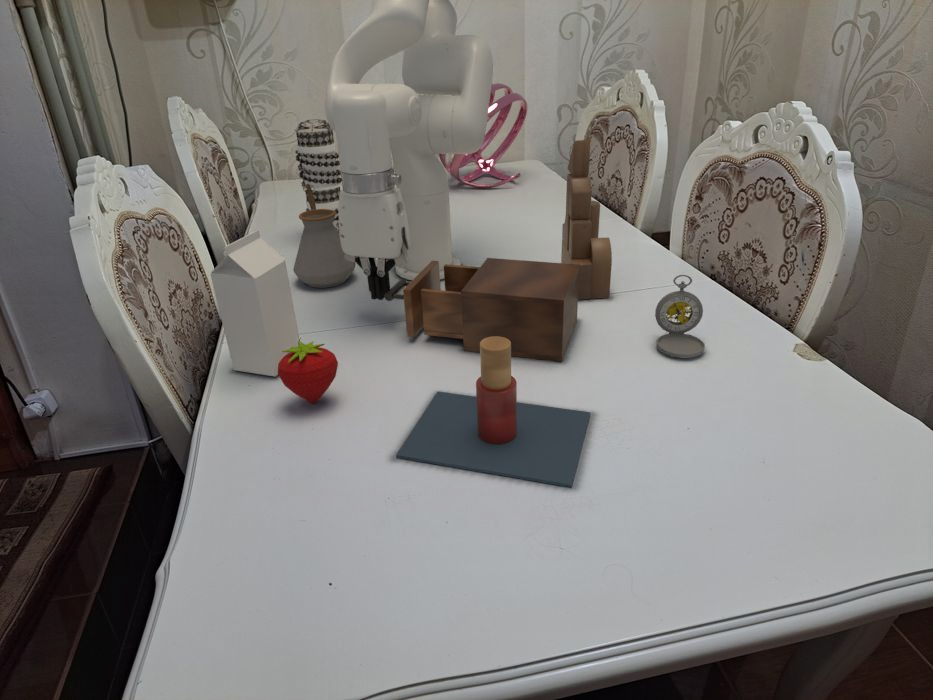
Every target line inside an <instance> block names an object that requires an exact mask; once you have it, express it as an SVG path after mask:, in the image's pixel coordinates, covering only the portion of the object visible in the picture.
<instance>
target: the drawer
mask: <svg viewBox="0 0 933 700" xmlns="http://www.w3.org/2000/svg"><path fill="white" fill-rule="evenodd" d="M480 267H481V266H475V265H473V266H472V265H462V264H461V265H448V264H445V265H444V279H443V280H444V289H443V290H442V288H441V279H440V273H439V261H431V262H430V263H429V264H428V265H427V266H426V267H425V268H424V269H423V270H422V271H421V272H420V273H419V274H418V275H417V276H416V277H415V278H414V279H413V280H410V281H407V279H405V278H400V279H399V280H398V281H397V282H396V283H395V284H393V286H392V287H390V290H389V291H388V292H387V293H385V295H384V299H385V300H386V301H388V302H391V301H393V299H395V300H403V305H404V315H405V316H404V317H405V326H406V337H407V338H416V336H418V334H419V333H420V331H421V330H422V329H423V335H424V336H430V337H431V336H432V337H440V338H441V337H442V338H449V339H450V338H451V339H459V340H463V323H462V301H461V290H462V289H463V288H464V287H465V285H466V284H467V283H468V282H469V280H470V279H471V278H472V277H473V275H474V274H475V273H476V272H477V270H478V269H479V268H480ZM400 292H402V293H401V294H400Z"/></svg>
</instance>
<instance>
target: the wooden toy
mask: <svg viewBox="0 0 933 700" xmlns="http://www.w3.org/2000/svg"><path fill="white" fill-rule="evenodd" d="M590 156H591V140H589V139H581V140H574V141H573V144H572V148H571V152H570V156H569V160H568V164H567V170H568V172H569V173H568V174H566V196H565V197H566V199H565V216H564V222H563V223H562V229H561V230H562V231H561V255H560V256H561V257H560V263H565V264H579V265H580V267H579V288H578V301H580V300H591V299H609V298H610V291H611V279H612V278H611V277H612V266H613V265H612V264H613V257H612V256H613V254H612V253H613V252H612V243H611V239H610V237H608V236H607V237H599V230H600V215H601V214H600V213H601V203H600V202H599V201H598V200H597V201H596V200H592V196H593V195H592V193H593V191H592V181H591V178H590V176H589V175H590Z"/></svg>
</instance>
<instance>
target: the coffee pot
mask: <svg viewBox="0 0 933 700" xmlns="http://www.w3.org/2000/svg"><path fill="white" fill-rule="evenodd" d="M311 186H313V185H309V184H307V185H305V186H304V187H306V188H307V190H306V191H305V189H304V187H302V190H303V191H304V192H307V194H308V201H309V204H310V207H311V210H309V211H306V210H305V211H303V212H301V213H299V214H298V219H299V220H301V222H302V224H303V230H302V234H301V237H300V243H299V246H298V250H297V253H296V257H295V261H294V265H293V269H292V270H293V273H294V274H295V276H296V277H297V278H298V279H299V280H300V281H301V282H303V283H305V284H306V285H307V286H309V287H311V288H317V289H324V288H332V287H333V288H334V287H336V286H339V285H342V284H343V283H345V282H346V281H347V280H348V278H350V276H351V275H352V274H353V272H354V271H355V269H356V262H355V263H354V262H351V261H348V260H346V259H345V258H344V252H343V250H342V247H341V242H340V235H339V233H338V232H337V230H336V228H335V227H334V225H333V220H334V217H335V215H336V213H337V212H336V211H333V210H329V209H316V205H315V198H314V196H313V194H312V193H313V191H314V190H312V189H311ZM313 187H314V186H313ZM314 189H315V187H314Z"/></svg>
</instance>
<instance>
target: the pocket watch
mask: <svg viewBox="0 0 933 700" xmlns="http://www.w3.org/2000/svg"><path fill="white" fill-rule="evenodd" d="M681 277H685V278H688V280H689V282H688V283H686V282H685V281H683V280H682V281H680V283H679V284H678V283H677V281H676V280H677V279H678V278H681ZM672 282H673V284H674V285H676V286H677V288H679V290H675V291H672V292H669V293H667V294H666V295H664V296H663V297H662V298H661V299H660V300H659V301H658V303H657V304H656V307H655V314H654V317H655V320H656V323H657V325H658V326H659V327H660V328H661V329H662V330H663V331H665V332H666V334H665V333H664V334H662V335H660V336H659V337H657V339H656V348H657V350H659V351H660V352H661V353H663V354H664V355H667V356H670V357H675V358H679V359H680V358H681V359H690V358H696V357H698V356H700V355H702V354H703V353H704V351H705V348H706V345H705V342H704V341H703V340H702V339H701V338H698V337H697V336H694V335H691V334H687V332H689V331H692V330H693V329H694V328H696V327H697V326H698V325H699V323H700V322H701V320H702V318H703V314H704V308H703V303H702V302H701V300H700V299H699V297H697V296H696V295H695V294H694V293H692V292H689V291H685V289H686V288H687V287H688V286H690V285H691V284H692V283H693V279H692V277H691V276H689V275H686V274H679V275H677V276H675V277H674V278H673V280H672ZM688 314H689V315H688ZM687 315H688V316H687Z"/></svg>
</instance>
